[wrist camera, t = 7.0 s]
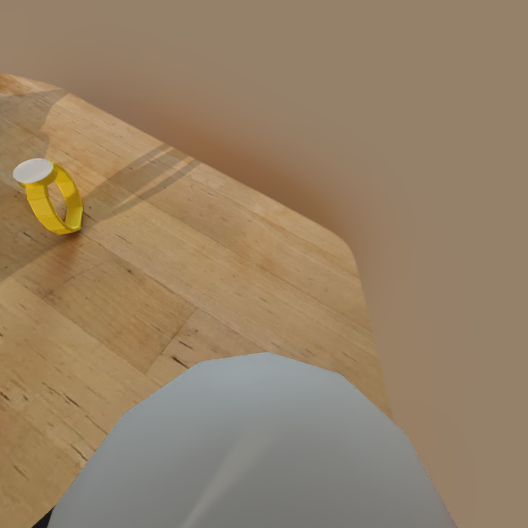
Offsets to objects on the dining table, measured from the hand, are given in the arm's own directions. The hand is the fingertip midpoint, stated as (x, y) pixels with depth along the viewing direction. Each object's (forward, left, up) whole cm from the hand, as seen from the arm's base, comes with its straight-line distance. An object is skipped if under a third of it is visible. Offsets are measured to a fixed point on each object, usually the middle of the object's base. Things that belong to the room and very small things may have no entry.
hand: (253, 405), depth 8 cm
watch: (+22, +8, -13) cm, 27 cm away
